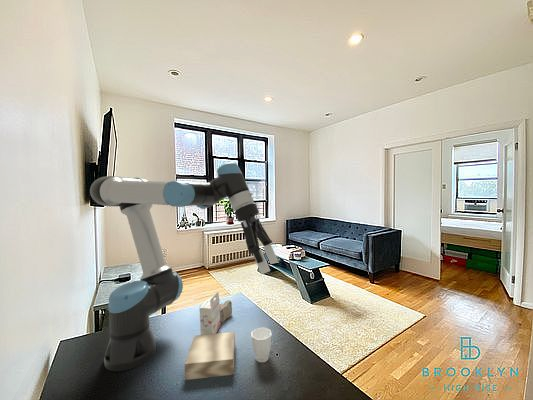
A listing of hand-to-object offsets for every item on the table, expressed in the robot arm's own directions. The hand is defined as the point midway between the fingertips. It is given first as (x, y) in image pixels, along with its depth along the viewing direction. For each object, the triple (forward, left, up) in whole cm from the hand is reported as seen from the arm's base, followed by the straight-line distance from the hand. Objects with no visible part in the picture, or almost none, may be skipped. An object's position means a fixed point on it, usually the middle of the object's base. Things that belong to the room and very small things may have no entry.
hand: (270, 267), depth 73 cm
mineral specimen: (-20, +28, -30) cm, 46 cm away
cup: (-3, +3, -30) cm, 30 cm away
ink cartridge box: (-22, +19, -30) cm, 42 cm away
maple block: (-20, +3, -30) cm, 36 cm away
